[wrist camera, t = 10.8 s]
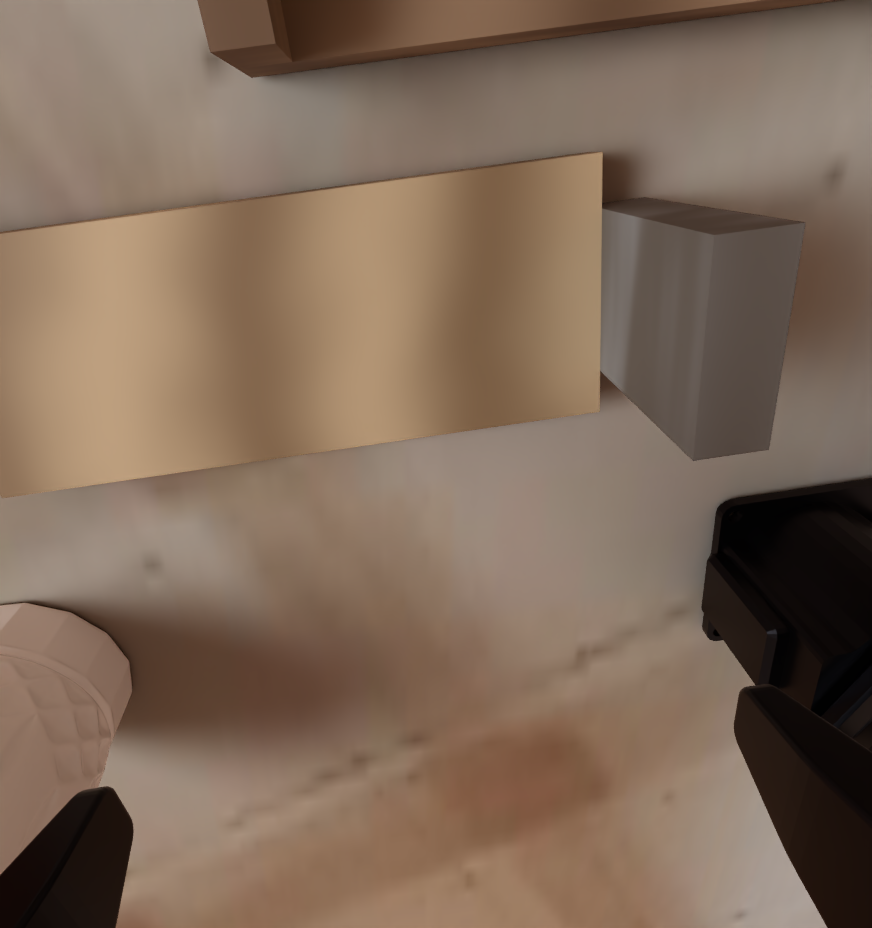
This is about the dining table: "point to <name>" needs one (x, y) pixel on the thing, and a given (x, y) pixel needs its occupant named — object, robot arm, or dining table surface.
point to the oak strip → (383, 322)
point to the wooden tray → (422, 26)
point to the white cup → (53, 715)
